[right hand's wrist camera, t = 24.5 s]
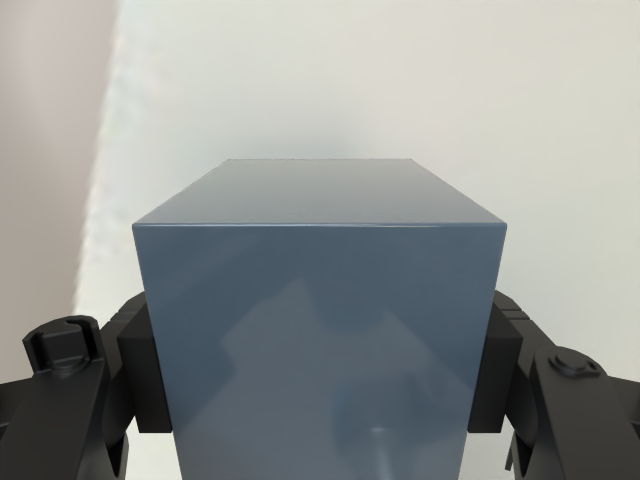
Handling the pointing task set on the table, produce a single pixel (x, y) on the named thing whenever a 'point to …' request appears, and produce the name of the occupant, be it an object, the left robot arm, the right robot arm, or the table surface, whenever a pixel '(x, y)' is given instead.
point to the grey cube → (319, 318)
